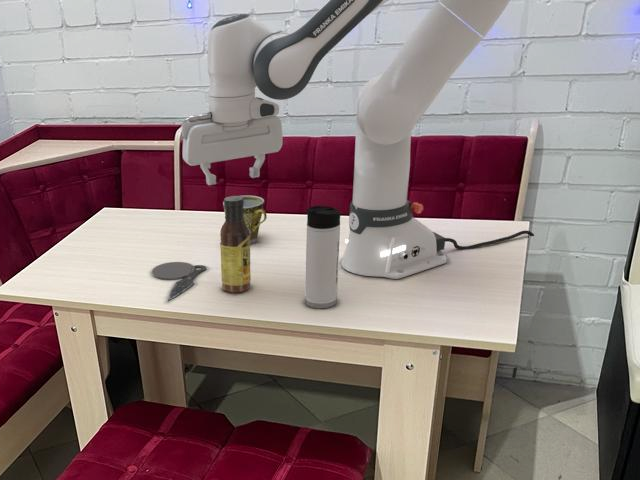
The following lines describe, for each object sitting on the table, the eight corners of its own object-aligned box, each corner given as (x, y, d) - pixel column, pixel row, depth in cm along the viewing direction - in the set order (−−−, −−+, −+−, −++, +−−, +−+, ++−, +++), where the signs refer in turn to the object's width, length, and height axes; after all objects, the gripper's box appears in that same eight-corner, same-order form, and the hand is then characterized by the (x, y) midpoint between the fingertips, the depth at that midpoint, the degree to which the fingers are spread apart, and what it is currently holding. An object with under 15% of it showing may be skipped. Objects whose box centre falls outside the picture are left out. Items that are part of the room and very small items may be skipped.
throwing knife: (209, 268, 174) (209, 265, 174) (177, 303, 159) (177, 300, 159) (192, 266, 176) (192, 264, 176) (158, 301, 161) (158, 298, 161)
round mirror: (186, 260, 180) (186, 259, 179) (201, 274, 171) (200, 273, 171) (146, 268, 178) (146, 266, 177) (159, 283, 169) (159, 281, 169)
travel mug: (297, 300, 154) (299, 206, 144) (325, 293, 156) (328, 199, 146) (314, 311, 149) (317, 214, 139) (342, 304, 151) (347, 207, 141)
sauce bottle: (249, 294, 159) (248, 203, 149) (220, 294, 161) (217, 204, 151) (251, 282, 165) (250, 193, 155) (223, 282, 166) (220, 194, 156)
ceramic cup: (216, 241, 189) (214, 202, 184) (246, 230, 193) (245, 192, 188) (250, 253, 179) (249, 213, 174) (281, 242, 184) (281, 202, 179)
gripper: (186, 119, 139) (190, 192, 146) (287, 104, 143) (285, 176, 150) (175, 114, 144) (179, 184, 151) (272, 99, 148) (271, 169, 155)
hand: (233, 180), depth 151 cm, fingers open, 8 cm apart
